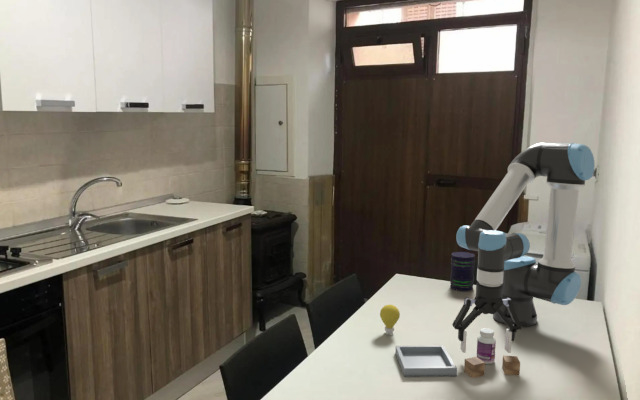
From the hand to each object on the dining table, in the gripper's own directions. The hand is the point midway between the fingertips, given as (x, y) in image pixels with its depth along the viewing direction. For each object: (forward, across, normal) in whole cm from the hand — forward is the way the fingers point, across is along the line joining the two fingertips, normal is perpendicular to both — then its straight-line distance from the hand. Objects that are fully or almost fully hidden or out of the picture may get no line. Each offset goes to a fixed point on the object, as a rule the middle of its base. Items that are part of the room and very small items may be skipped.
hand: (485, 351), depth 157 cm
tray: (+3, +19, +2) cm, 19 cm away
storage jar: (+3, -13, -69) cm, 71 cm away
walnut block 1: (+4, +6, +8) cm, 10 cm away
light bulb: (+4, +26, -21) cm, 33 cm away
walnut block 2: (+3, -5, +7) cm, 9 cm away
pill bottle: (+3, 0, 0) cm, 3 cm away
